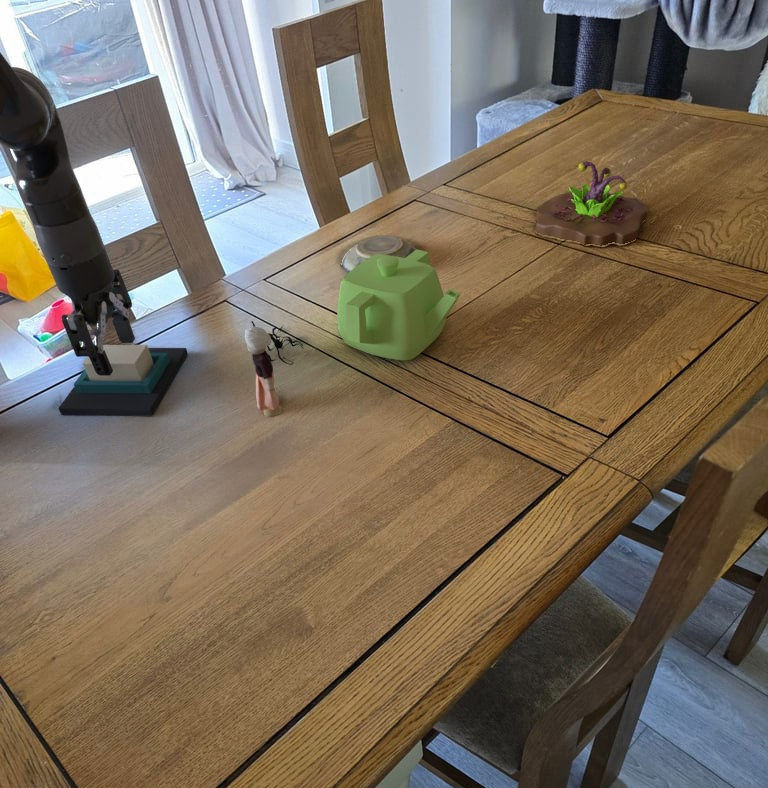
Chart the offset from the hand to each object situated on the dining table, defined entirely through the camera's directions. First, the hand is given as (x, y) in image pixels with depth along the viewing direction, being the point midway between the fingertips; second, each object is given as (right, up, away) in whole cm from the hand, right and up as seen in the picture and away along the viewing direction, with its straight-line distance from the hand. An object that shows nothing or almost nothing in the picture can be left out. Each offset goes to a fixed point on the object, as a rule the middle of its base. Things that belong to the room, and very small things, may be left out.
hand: (117, 357), depth 102 cm
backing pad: (0, -3, +3) cm, 4 cm away
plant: (+78, +32, +30) cm, 90 cm away
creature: (+23, +2, +6) cm, 24 cm away
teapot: (+42, +3, +5) cm, 43 cm away
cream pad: (0, -2, +2) cm, 3 cm away
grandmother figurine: (+23, -8, -4) cm, 25 cm away
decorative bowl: (+39, +23, +25) cm, 51 cm away
